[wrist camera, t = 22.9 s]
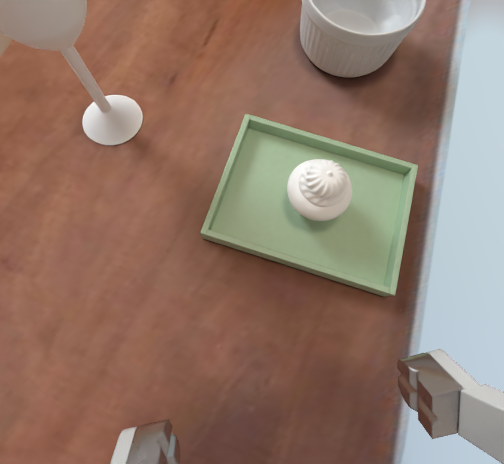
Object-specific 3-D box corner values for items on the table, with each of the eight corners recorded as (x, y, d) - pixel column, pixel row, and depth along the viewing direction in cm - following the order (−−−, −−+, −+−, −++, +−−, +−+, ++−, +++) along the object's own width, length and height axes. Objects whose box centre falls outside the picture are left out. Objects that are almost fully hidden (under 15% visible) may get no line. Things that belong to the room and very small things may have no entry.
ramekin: (287, 6, 39) (297, -58, 32) (383, 5, 40) (412, -58, 33) (298, 89, 35) (312, 36, 29) (403, 86, 36) (440, 34, 29)
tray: (407, 174, 33) (418, 165, 31) (384, 296, 29) (395, 295, 27) (245, 125, 34) (245, 113, 32) (202, 238, 30) (199, 232, 28)
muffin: (311, 165, 32) (330, 126, 25) (351, 206, 31) (382, 176, 24) (269, 199, 31) (278, 168, 24) (309, 243, 30) (330, 222, 23)
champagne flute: (155, 117, 33) (-31, -321, 10) (111, 156, 32) (-223, -255, 9) (114, 84, 34) (-142, -384, 11) (69, 121, 33) (-335, -336, 10)
